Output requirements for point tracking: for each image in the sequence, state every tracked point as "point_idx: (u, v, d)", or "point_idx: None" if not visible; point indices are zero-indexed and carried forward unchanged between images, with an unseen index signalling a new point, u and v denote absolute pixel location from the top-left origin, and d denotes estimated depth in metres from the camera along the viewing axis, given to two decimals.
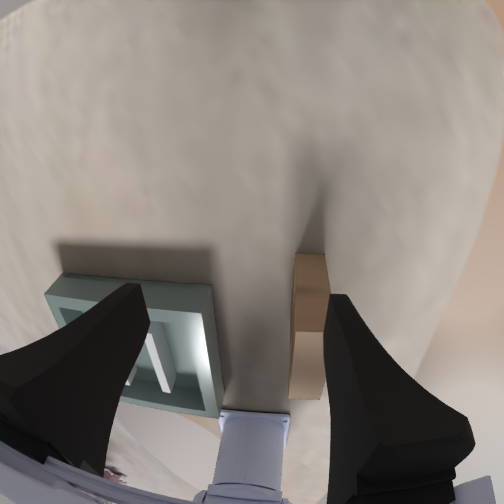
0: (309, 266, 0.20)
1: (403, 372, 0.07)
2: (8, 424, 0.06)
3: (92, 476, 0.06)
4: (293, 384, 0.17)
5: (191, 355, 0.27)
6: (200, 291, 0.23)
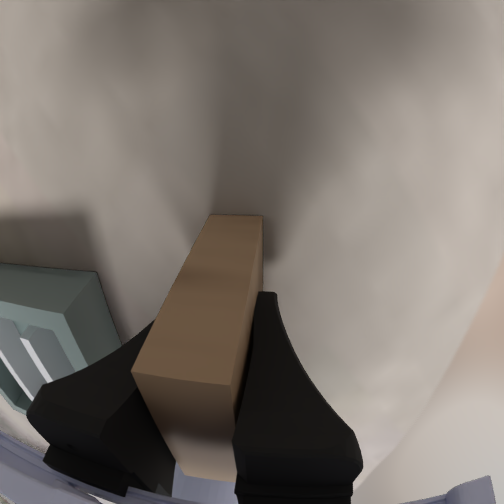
0: (225, 234, 0.11)
1: (302, 374, 0.07)
2: (74, 455, 0.06)
3: None
4: (181, 459, 0.08)
5: None
6: (78, 281, 0.14)
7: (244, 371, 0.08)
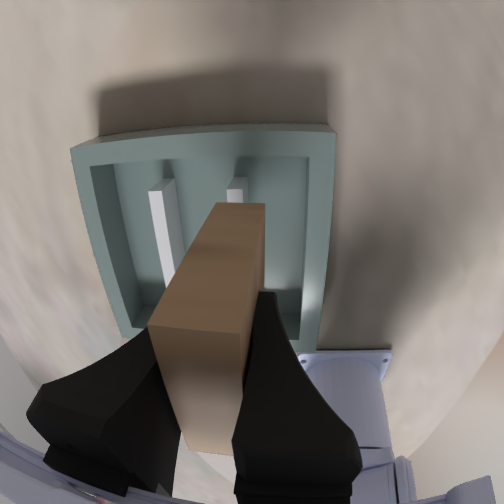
0: (231, 217, 0.12)
1: (302, 374, 0.07)
2: (75, 455, 0.06)
3: None
4: (187, 429, 0.09)
5: (283, 248, 0.20)
6: (318, 125, 0.16)
7: (249, 336, 0.09)
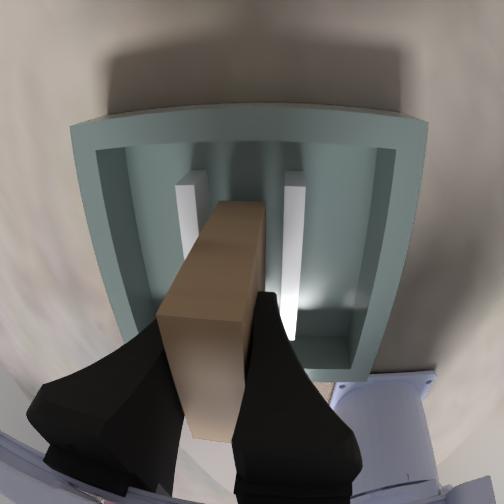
0: (233, 215, 0.12)
1: (302, 374, 0.07)
2: (75, 455, 0.06)
3: None
4: (192, 417, 0.09)
5: (338, 261, 0.16)
6: (393, 112, 0.12)
7: (251, 326, 0.09)
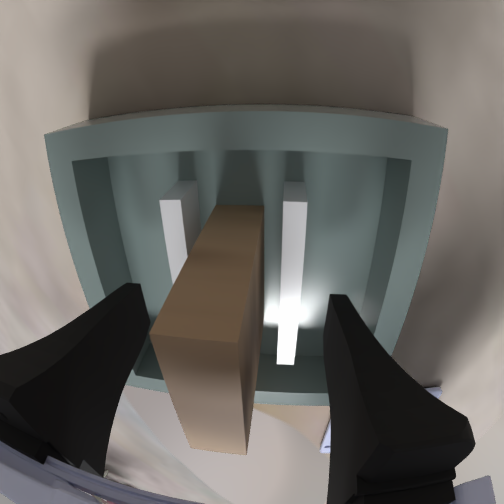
0: (230, 221, 0.12)
1: (403, 372, 0.07)
2: (8, 424, 0.06)
3: (92, 476, 0.06)
4: (189, 429, 0.09)
5: (342, 280, 0.14)
6: (406, 116, 0.10)
7: (248, 340, 0.09)
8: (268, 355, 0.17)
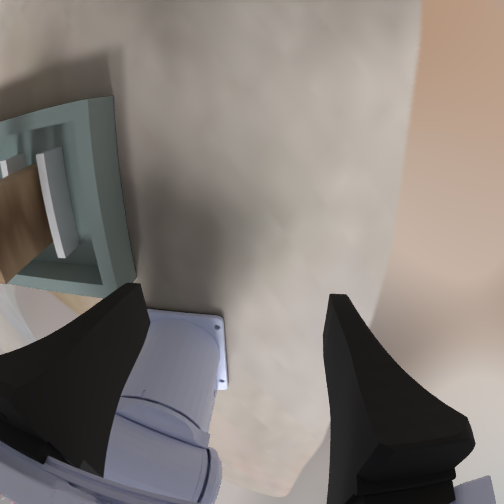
0: (26, 169, 0.19)
1: (403, 372, 0.07)
2: (8, 424, 0.06)
3: (92, 476, 0.06)
4: None
5: None
6: None
7: (2, 212, 0.16)
8: (72, 263, 0.24)
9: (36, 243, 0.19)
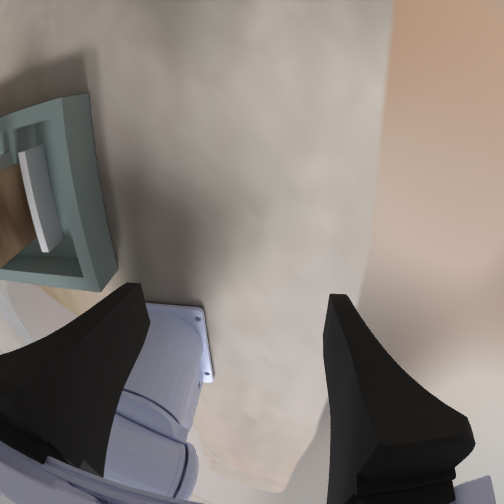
0: (10, 167, 0.18)
1: (403, 372, 0.07)
2: (8, 424, 0.06)
3: (92, 476, 0.06)
4: None
5: None
6: None
7: None
8: (57, 257, 0.24)
9: (20, 238, 0.19)
